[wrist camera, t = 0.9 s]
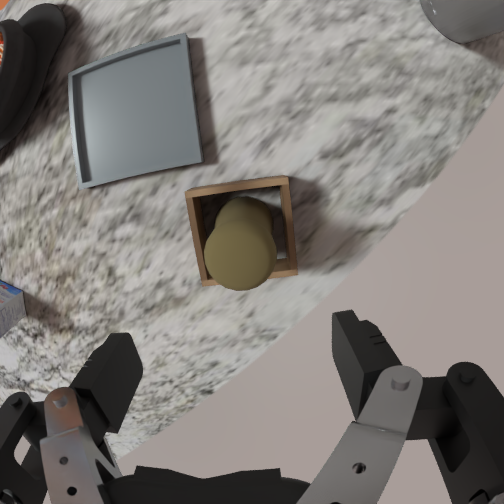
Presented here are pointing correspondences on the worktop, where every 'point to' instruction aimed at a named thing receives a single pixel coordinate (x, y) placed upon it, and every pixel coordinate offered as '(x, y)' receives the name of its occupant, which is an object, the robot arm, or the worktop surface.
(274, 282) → the worktop surface
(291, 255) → the holder
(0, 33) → the casserole
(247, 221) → the cork
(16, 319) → the medicine box
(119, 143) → the tray
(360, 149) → the worktop surface
